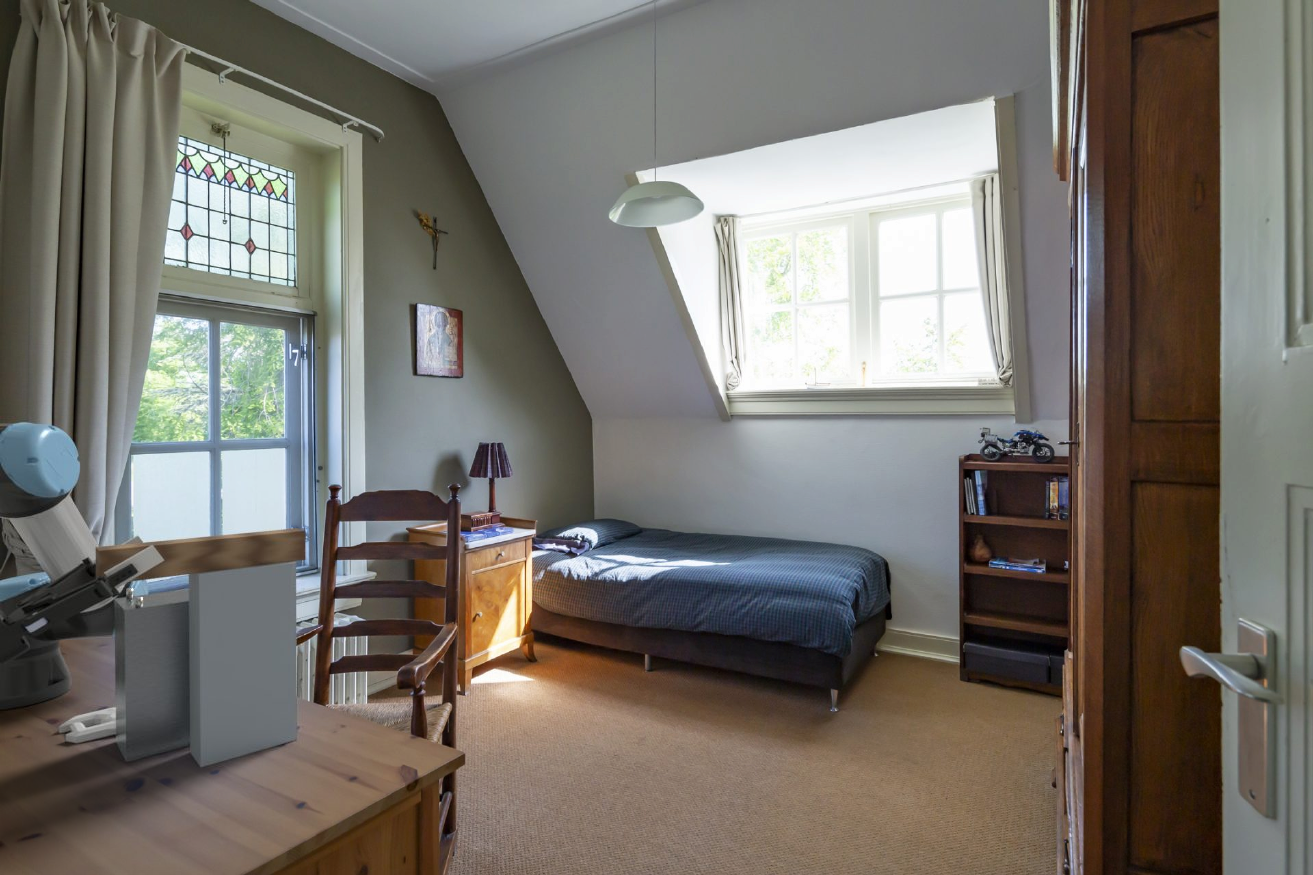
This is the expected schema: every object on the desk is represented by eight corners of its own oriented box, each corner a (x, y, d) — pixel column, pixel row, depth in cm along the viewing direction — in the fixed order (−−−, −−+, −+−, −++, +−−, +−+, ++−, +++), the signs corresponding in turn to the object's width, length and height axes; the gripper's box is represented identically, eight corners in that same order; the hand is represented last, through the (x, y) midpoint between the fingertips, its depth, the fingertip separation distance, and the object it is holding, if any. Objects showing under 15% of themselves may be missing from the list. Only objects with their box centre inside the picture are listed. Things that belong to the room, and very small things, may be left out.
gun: (183, 686, 136) (188, 703, 128) (185, 703, 136) (189, 722, 128) (59, 714, 125) (55, 735, 117) (60, 733, 125) (57, 756, 117)
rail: (99, 585, 103) (99, 550, 103) (95, 580, 106) (95, 547, 106) (305, 559, 123) (305, 530, 123) (297, 556, 126) (297, 528, 125)
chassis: (116, 741, 120) (114, 589, 119) (224, 714, 131) (223, 575, 130) (126, 762, 113) (124, 600, 112) (240, 731, 124) (239, 584, 123)
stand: (190, 752, 116) (188, 567, 115) (283, 726, 126) (282, 556, 125) (200, 767, 111) (199, 574, 110) (297, 739, 121) (296, 562, 120)
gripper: (-5, 646, 106) (150, 556, 119) (3, 690, 89) (182, 579, 102) (-41, 607, 103) (122, 519, 116) (-40, 644, 86) (150, 536, 99)
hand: (150, 547), depth 109 cm, fingers open, 11 cm apart
